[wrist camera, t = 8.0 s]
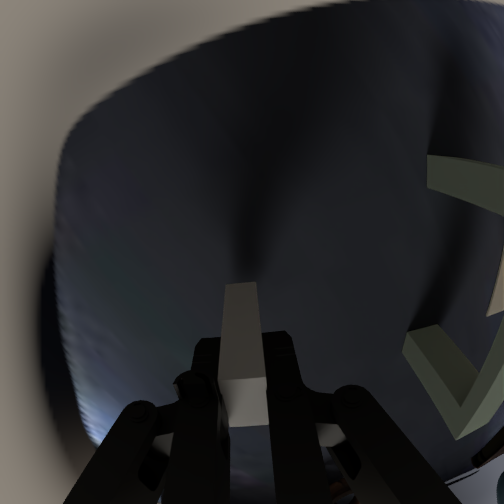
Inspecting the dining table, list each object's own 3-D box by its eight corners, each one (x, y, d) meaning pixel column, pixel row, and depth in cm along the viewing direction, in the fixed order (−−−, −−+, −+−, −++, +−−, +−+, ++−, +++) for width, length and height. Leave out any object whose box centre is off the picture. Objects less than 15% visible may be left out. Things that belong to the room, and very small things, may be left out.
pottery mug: (269, 480, 28) (300, 518, 20) (328, 443, 31) (368, 471, 23) (295, 515, 29) (323, 545, 21) (344, 483, 32) (377, 507, 24)
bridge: (460, 157, 14) (575, 187, 5) (431, 343, 19) (488, 422, 11) (427, 154, 14) (552, 183, 5) (401, 352, 19) (455, 440, 10)
